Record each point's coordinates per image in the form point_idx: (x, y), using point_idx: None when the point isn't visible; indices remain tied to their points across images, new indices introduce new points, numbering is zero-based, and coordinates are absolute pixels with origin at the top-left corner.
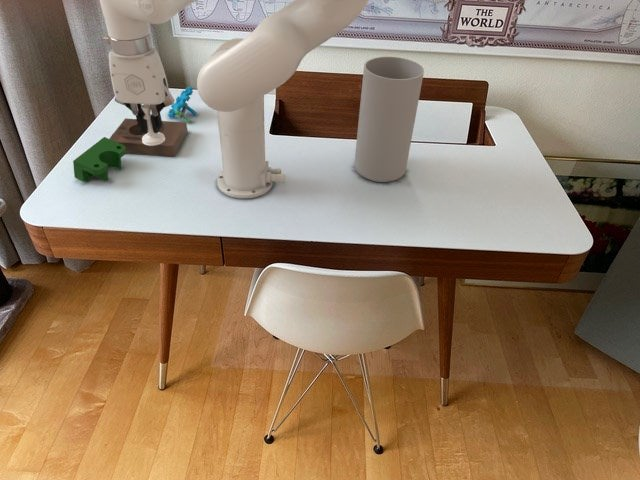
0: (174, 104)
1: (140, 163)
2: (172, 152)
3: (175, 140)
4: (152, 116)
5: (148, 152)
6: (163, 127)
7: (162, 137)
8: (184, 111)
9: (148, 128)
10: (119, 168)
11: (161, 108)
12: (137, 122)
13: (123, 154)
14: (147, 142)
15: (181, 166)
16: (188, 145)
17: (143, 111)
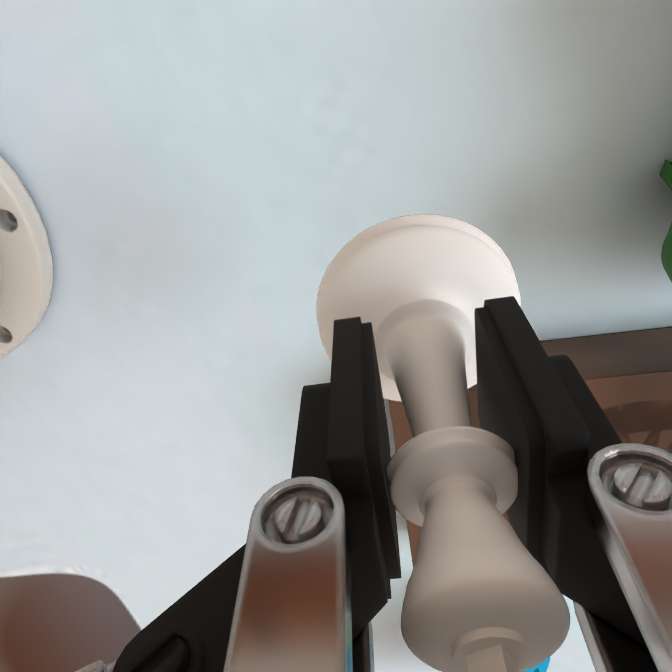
0: (531, 669)
1: (551, 257)
2: None
3: (398, 447)
4: (340, 465)
5: None
6: None
7: (326, 332)
8: None
9: (446, 359)
10: (668, 162)
11: (179, 620)
12: (584, 383)
13: (670, 233)
14: (432, 228)
15: (310, 288)
16: None
17: (540, 548)
